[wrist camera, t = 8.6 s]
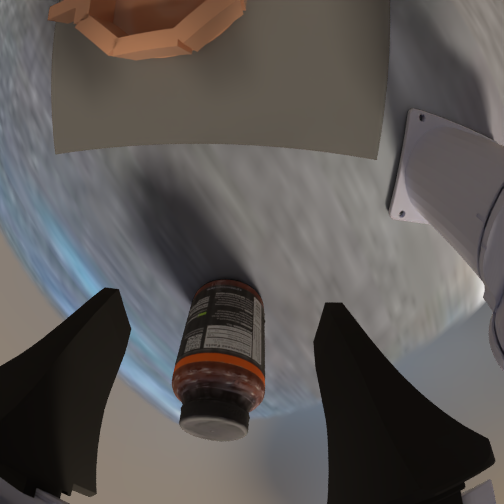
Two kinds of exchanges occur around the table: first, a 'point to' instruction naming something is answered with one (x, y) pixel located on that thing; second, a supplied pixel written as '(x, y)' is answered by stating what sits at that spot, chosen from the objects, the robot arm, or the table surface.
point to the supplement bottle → (221, 361)
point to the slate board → (235, 84)
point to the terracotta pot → (149, 24)
